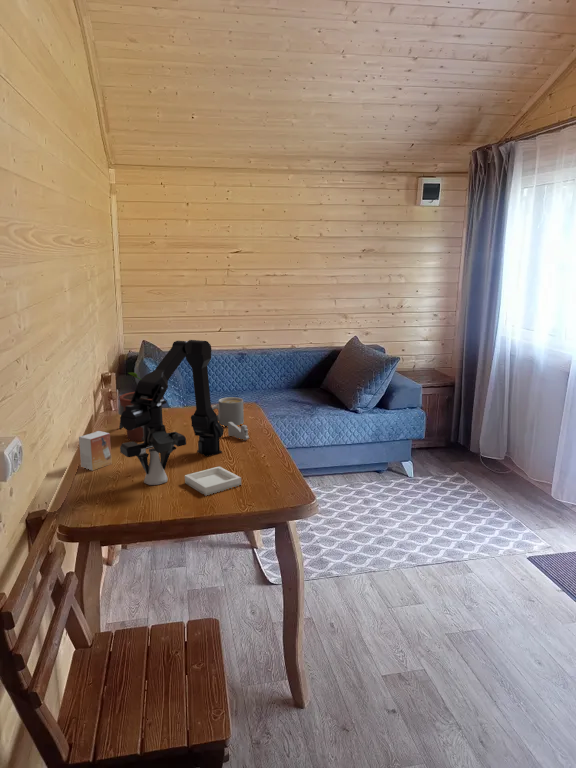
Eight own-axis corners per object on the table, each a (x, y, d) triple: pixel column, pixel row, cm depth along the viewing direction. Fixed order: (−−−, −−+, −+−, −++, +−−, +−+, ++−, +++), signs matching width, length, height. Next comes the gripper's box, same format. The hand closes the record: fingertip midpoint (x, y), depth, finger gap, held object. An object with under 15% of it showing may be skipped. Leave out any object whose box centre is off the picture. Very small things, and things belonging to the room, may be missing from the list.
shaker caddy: (219, 473, 174) (219, 466, 173) (241, 485, 165) (241, 477, 164) (185, 483, 166) (184, 475, 166) (205, 496, 157) (205, 487, 157)
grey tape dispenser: (231, 436, 212) (250, 440, 206) (228, 436, 211) (247, 441, 205) (230, 421, 211) (249, 425, 205) (227, 422, 210) (247, 426, 204)
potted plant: (115, 445, 201) (111, 377, 196) (119, 428, 222) (115, 366, 217) (166, 441, 205) (163, 374, 200) (165, 425, 226) (162, 364, 221)
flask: (146, 487, 163) (144, 454, 161) (140, 479, 170) (139, 447, 167) (171, 483, 167) (169, 451, 164) (164, 475, 173) (162, 444, 171)
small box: (92, 471, 176) (89, 439, 174) (80, 468, 179) (78, 436, 177) (112, 463, 183) (110, 432, 180) (100, 460, 186) (98, 430, 183)
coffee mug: (244, 420, 233) (243, 397, 231) (243, 427, 223) (242, 403, 221) (212, 420, 232) (211, 397, 230) (209, 427, 223) (208, 403, 221)
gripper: (134, 433, 152) (137, 487, 156) (194, 421, 164) (196, 472, 167) (117, 424, 161) (121, 475, 164) (176, 413, 172) (178, 462, 176)
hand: (155, 471), depth 167 cm, fingers closed on flask, 5 cm apart
